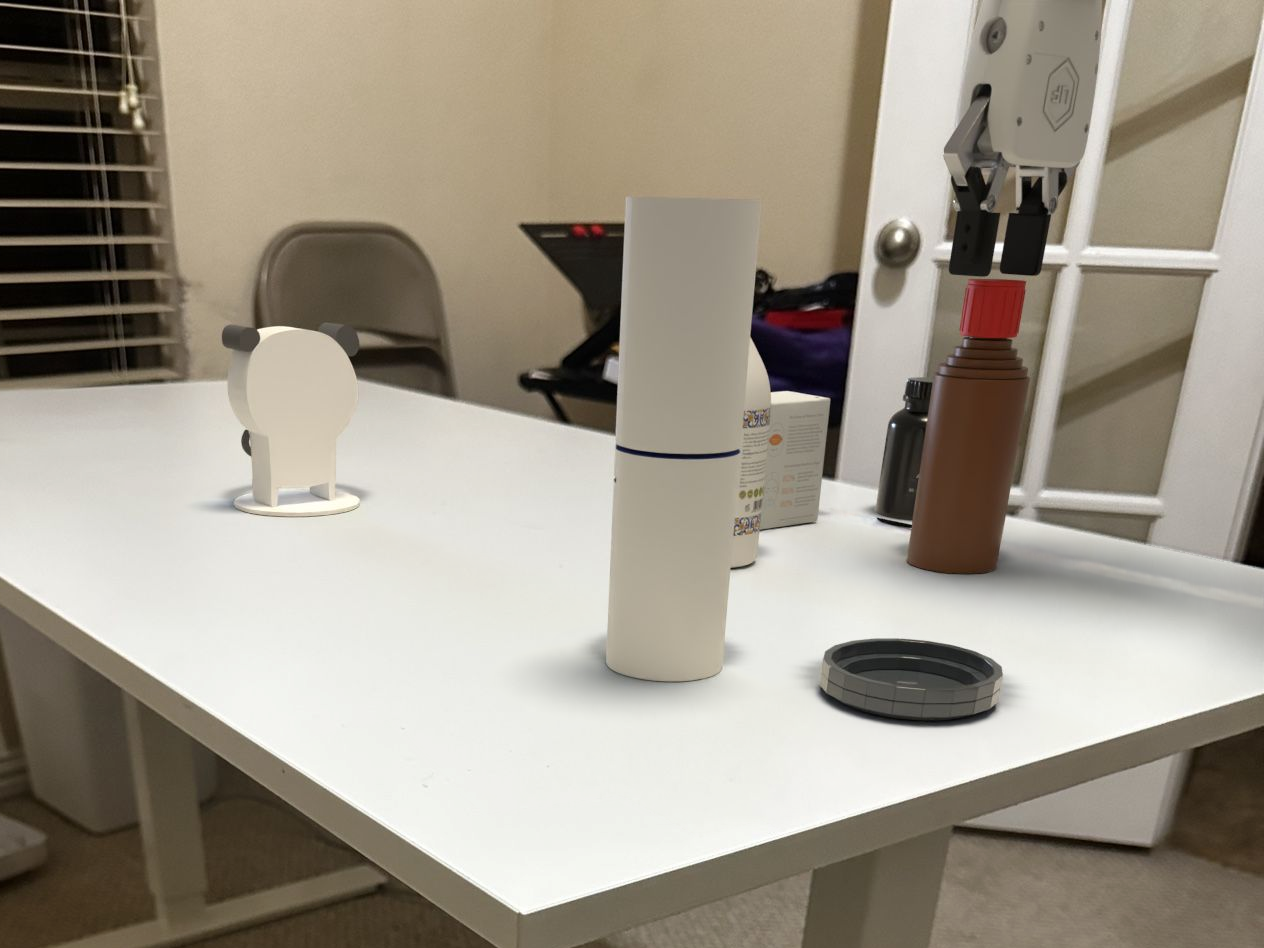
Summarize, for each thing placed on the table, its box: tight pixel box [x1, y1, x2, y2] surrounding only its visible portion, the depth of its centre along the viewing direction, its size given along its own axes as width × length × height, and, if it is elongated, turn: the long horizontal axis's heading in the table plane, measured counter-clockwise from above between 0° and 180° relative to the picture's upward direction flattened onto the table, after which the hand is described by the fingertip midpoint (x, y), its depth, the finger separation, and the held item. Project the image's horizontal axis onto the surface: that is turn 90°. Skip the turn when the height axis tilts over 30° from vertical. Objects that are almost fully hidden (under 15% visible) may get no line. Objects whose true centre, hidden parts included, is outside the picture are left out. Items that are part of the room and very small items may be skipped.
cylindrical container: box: [605, 196, 763, 682], centre depth 78 cm, size 7×7×25 cm
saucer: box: [819, 637, 1004, 721], centre depth 79 cm, size 10×10×2 cm
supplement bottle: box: [874, 376, 933, 529], centre depth 121 cm, size 7×7×12 cm
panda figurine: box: [221, 321, 361, 517], centre depth 122 cm, size 12×11×15 cm
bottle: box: [906, 336, 1031, 575], centre depth 105 cm, size 7×7×20 cm
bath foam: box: [730, 336, 772, 569], centre depth 104 cm, size 7×7×20 cm
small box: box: [759, 390, 831, 531], centre depth 120 cm, size 8×6×10 cm
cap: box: [959, 278, 1027, 339], centre depth 101 cm, size 4×4×4 cm
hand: (994, 272), depth 100 cm, fingers open, 5 cm apart
